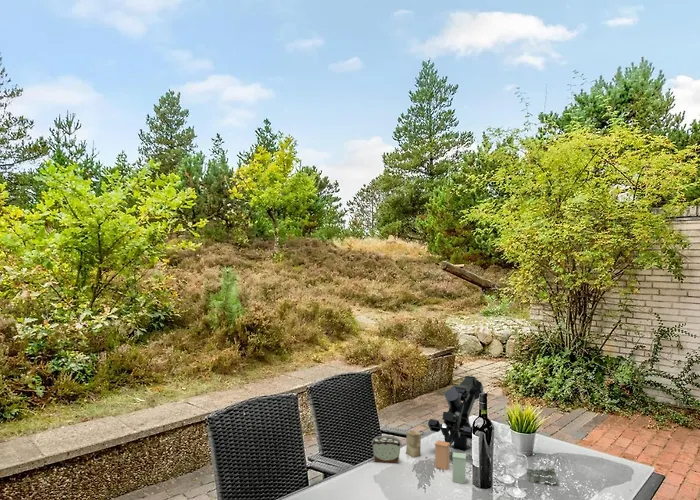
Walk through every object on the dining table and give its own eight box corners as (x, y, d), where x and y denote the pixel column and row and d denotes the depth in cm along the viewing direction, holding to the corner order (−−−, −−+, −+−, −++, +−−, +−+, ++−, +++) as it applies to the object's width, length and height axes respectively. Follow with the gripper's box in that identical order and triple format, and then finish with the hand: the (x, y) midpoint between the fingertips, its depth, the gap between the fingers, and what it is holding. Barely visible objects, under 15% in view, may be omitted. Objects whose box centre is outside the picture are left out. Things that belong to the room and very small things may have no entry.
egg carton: (555, 479, 175) (555, 468, 175) (557, 487, 168) (557, 476, 168) (526, 473, 178) (526, 463, 179) (526, 482, 171) (526, 471, 172)
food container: (401, 460, 187) (401, 436, 188) (401, 467, 181) (402, 441, 181) (371, 458, 188) (372, 434, 189) (370, 465, 182) (371, 440, 183)
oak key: (414, 451, 193) (414, 430, 194) (420, 455, 189) (421, 433, 189) (405, 453, 192) (406, 431, 192) (412, 457, 187) (412, 435, 188)
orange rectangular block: (438, 463, 183) (438, 440, 183) (449, 465, 180) (450, 442, 181) (434, 467, 179) (434, 443, 179) (446, 470, 176) (446, 446, 177)
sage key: (452, 476, 171) (452, 452, 171) (465, 478, 170) (466, 453, 170) (452, 481, 167) (452, 456, 167) (465, 483, 166) (465, 458, 166)
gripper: (429, 399, 194) (420, 433, 184) (473, 407, 185) (465, 443, 175) (435, 413, 201) (426, 447, 191) (477, 421, 192) (470, 457, 182)
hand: (446, 448), depth 184 cm, fingers closed
